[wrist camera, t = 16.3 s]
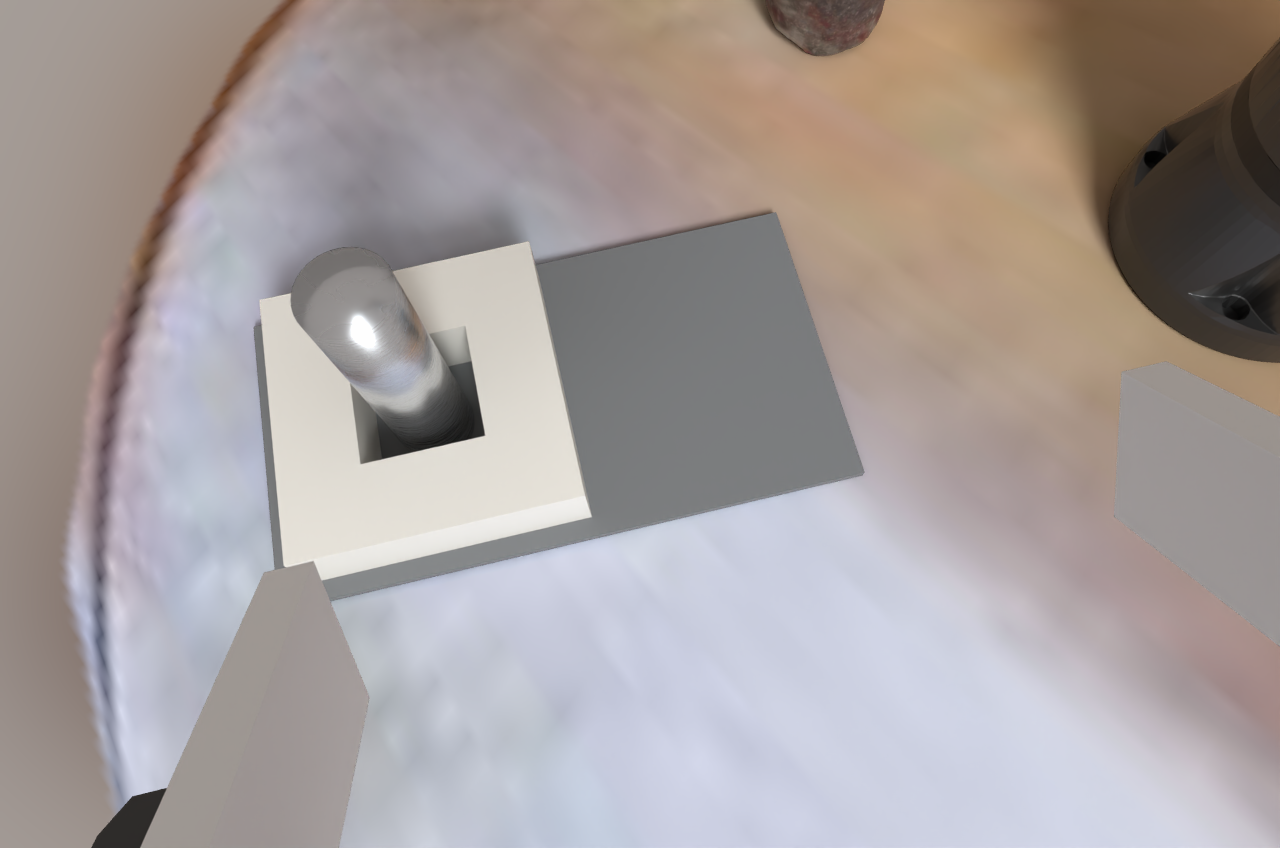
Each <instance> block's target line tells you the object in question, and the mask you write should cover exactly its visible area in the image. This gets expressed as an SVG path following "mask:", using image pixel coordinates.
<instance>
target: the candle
mask: <svg viewBox="0 0 1280 848" xmlns="http://www.w3.org/2000/svg"><path fill="white" fill-rule="evenodd" d="M884 1H885V0H766V6H767V9H768V11H769V14H770V16H771V19H772V21H773V23H774V25H775V27H776V29H777V30H779V31H780V32H781V33H782V34H784V35H785V36H786V37H787V38H788V39H790V40H792V41H793V42H794V43H796V44H797V45H798V46H799V47H800V48H802V49H803V50H804V52H806V53H809V54H812V55H816V56H826V55H834V54H837V53H840V52H842V51H844V50H847V49H850V48H853V47H855V46H857V45H859V44H861V43H863V42H864V40H865V39H866V38H867V37H868V36H869V35H870V33H871V32H872V30H873V28H874V27H875V26H876V24H877V22H878V20H879V18H880V15H881V13H882V9H883V5H884Z"/></svg>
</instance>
